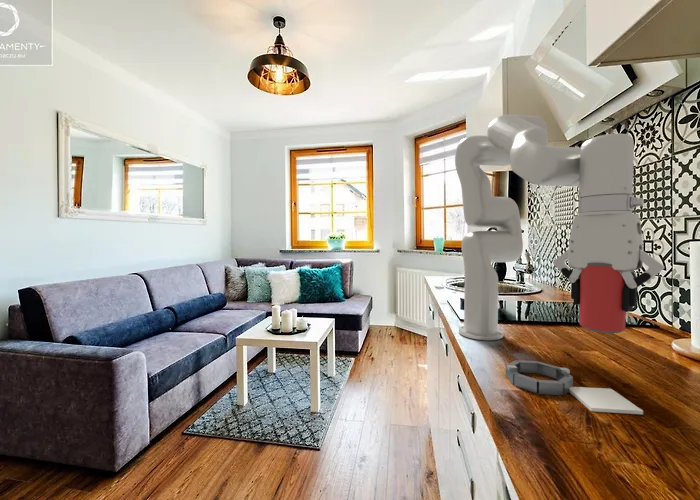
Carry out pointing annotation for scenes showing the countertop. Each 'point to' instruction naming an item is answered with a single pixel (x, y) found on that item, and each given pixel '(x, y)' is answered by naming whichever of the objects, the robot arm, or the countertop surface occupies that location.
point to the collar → (539, 385)
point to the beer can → (602, 299)
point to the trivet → (604, 400)
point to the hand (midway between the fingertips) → (602, 306)
